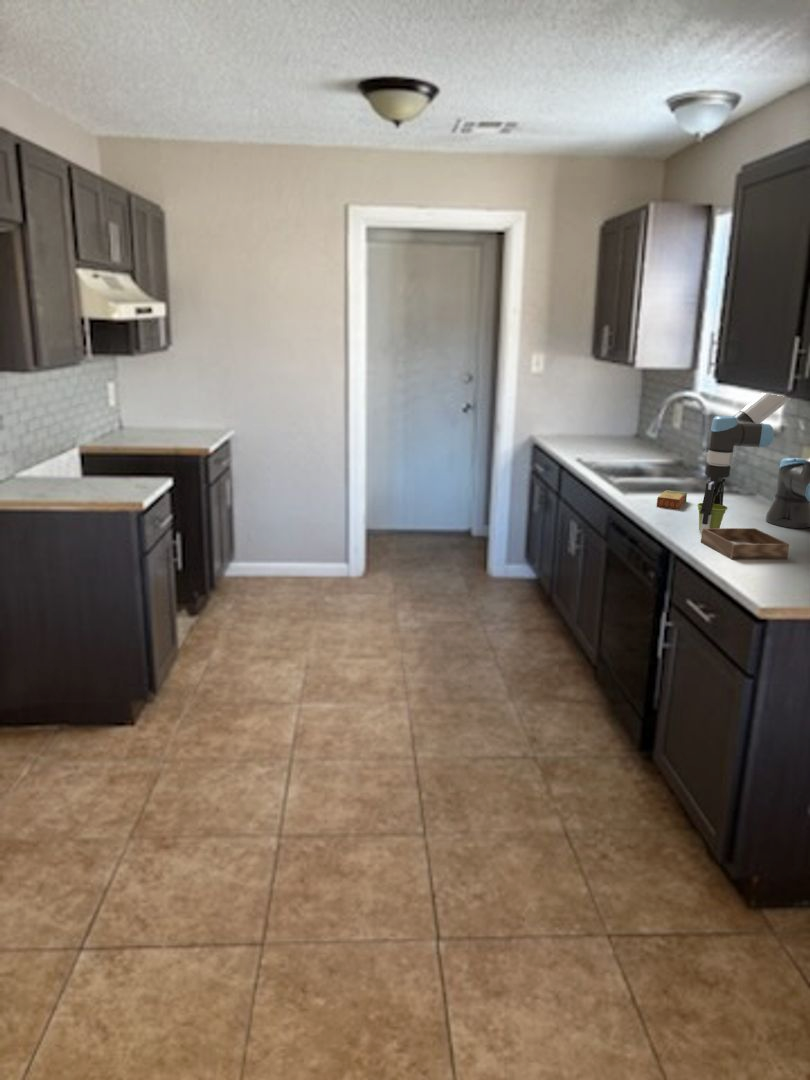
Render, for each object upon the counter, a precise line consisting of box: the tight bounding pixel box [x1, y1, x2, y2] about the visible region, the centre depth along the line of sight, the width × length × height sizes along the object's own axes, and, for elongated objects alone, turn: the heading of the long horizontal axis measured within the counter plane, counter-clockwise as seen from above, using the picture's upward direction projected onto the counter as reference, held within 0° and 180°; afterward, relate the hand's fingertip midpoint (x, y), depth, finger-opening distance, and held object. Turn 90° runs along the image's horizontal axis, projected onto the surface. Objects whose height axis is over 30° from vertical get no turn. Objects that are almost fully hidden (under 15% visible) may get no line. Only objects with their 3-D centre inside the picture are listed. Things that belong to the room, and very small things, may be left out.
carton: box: [656, 489, 688, 510], centre depth 310 cm, size 8×16×4 cm, turn 153°
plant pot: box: [696, 502, 728, 531], centre depth 272 cm, size 9×9×9 cm
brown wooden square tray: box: [700, 527, 791, 560], centre depth 252 cm, size 18×18×4 cm
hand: (708, 530), depth 274 cm, fingers open, 10 cm apart
